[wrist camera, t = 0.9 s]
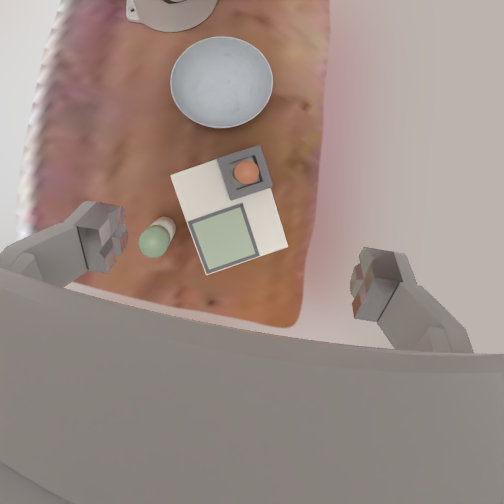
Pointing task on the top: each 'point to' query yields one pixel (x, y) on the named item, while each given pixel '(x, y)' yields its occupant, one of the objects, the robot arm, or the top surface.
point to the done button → (246, 172)
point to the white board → (229, 211)
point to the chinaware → (221, 82)
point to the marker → (157, 237)
